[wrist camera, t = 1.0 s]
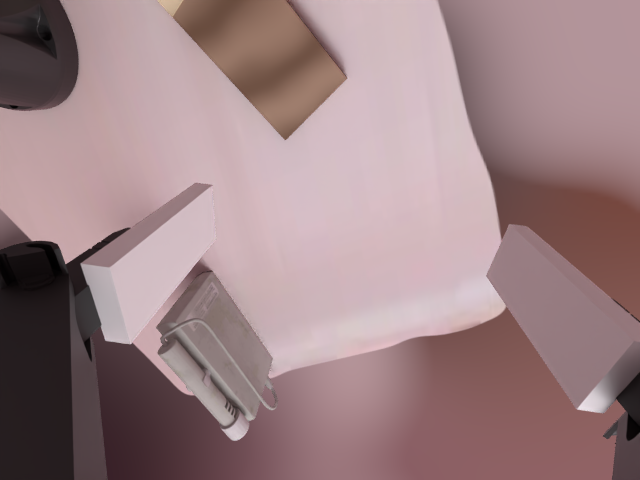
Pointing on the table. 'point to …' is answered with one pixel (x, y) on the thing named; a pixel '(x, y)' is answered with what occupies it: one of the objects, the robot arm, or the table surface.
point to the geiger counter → (216, 354)
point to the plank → (263, 55)
